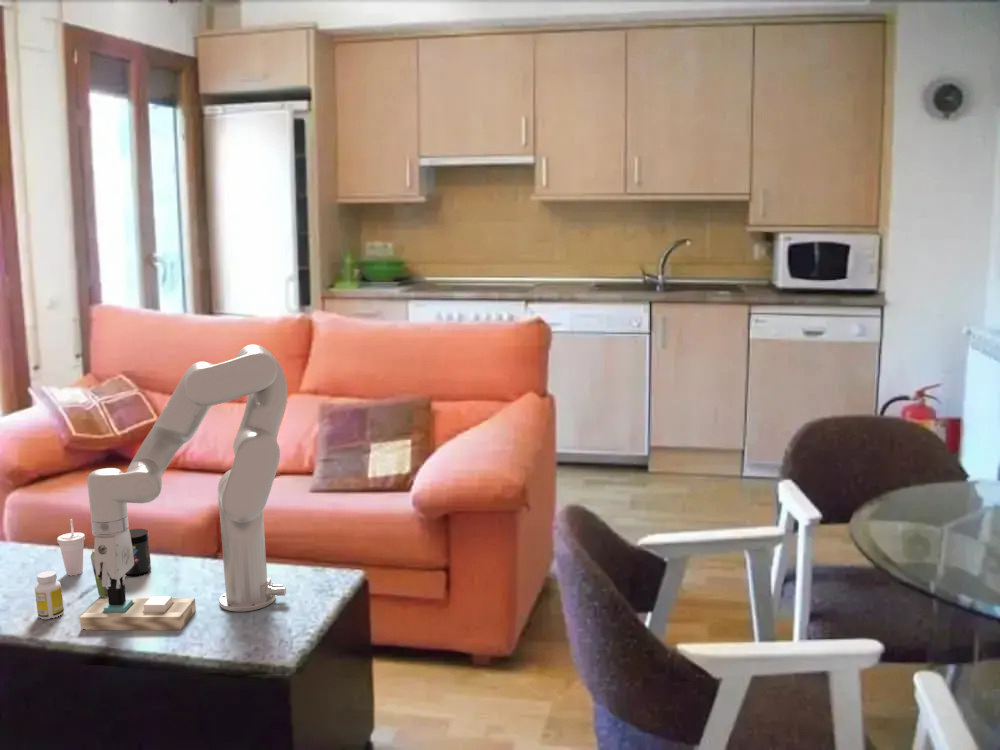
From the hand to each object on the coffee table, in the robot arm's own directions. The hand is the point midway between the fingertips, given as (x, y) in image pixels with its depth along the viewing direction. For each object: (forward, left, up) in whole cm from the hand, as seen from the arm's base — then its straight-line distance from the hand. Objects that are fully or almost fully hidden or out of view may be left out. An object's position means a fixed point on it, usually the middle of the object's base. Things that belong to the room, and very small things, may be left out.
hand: (117, 603), depth 221 cm
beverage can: (+8, -14, -4) cm, 17 cm away
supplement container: (+7, -28, -4) cm, 29 cm away
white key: (-9, 0, -2) cm, 9 cm away
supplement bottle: (+17, -3, -4) cm, 18 cm away
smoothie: (+23, -28, -4) cm, 36 cm away
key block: (-5, 0, -4) cm, 6 cm away
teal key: (0, 0, -3) cm, 3 cm away
